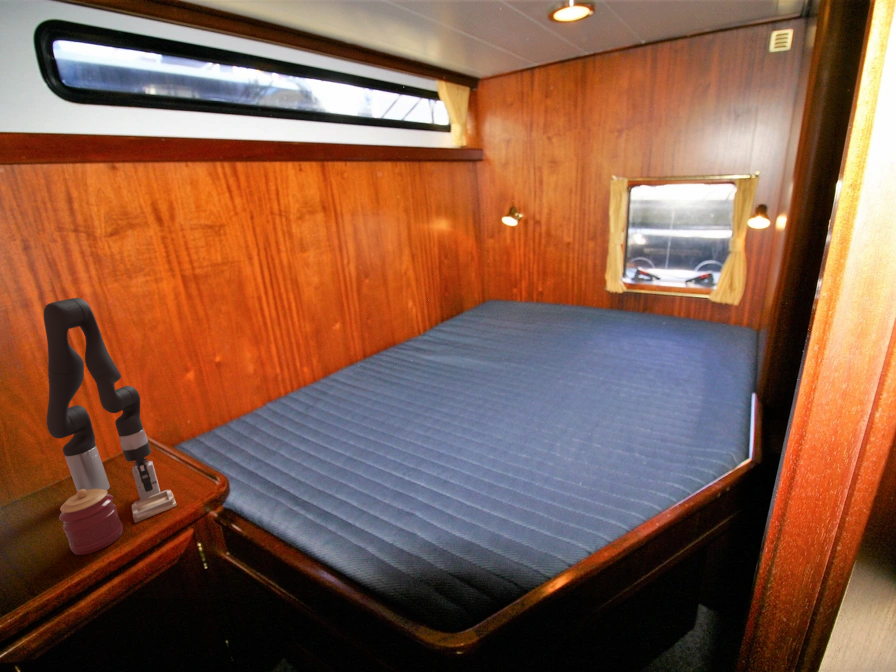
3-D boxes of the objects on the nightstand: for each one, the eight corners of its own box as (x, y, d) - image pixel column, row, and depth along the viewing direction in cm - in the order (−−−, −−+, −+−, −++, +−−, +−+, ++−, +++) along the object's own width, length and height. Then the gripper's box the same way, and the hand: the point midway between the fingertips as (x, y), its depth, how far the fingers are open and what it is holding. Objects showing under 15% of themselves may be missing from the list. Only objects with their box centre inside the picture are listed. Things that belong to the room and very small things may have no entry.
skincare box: (141, 502, 157) (131, 471, 154) (141, 497, 161) (131, 466, 158) (161, 495, 160) (152, 464, 157) (161, 490, 164) (152, 459, 161)
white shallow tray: (132, 509, 153) (130, 503, 153) (172, 494, 160) (170, 487, 160) (134, 522, 145) (132, 516, 145) (176, 505, 152) (174, 499, 152)
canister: (97, 527, 145) (80, 478, 141) (134, 526, 144) (118, 476, 140) (60, 556, 133) (40, 503, 129) (99, 555, 131) (80, 502, 127)
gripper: (120, 441, 159) (134, 483, 163) (123, 454, 148) (137, 498, 152) (145, 434, 164) (158, 474, 167) (149, 446, 152) (162, 488, 156)
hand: (148, 485), depth 160 cm, fingers open, 8 cm apart
